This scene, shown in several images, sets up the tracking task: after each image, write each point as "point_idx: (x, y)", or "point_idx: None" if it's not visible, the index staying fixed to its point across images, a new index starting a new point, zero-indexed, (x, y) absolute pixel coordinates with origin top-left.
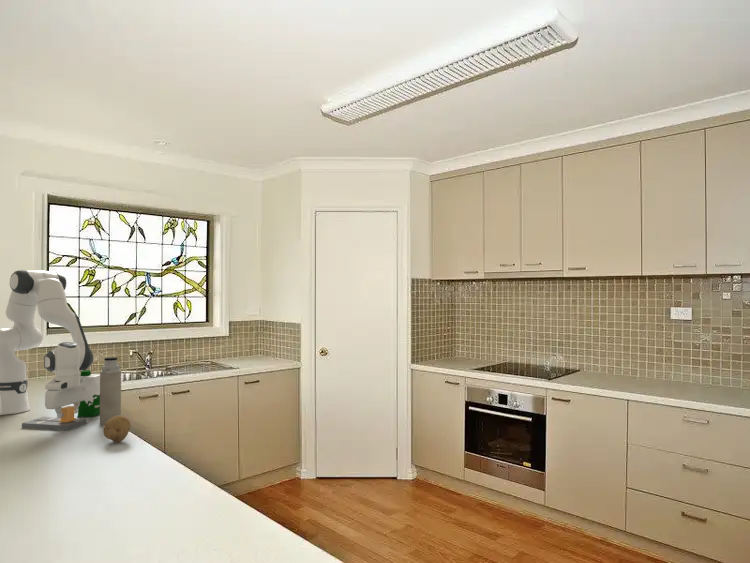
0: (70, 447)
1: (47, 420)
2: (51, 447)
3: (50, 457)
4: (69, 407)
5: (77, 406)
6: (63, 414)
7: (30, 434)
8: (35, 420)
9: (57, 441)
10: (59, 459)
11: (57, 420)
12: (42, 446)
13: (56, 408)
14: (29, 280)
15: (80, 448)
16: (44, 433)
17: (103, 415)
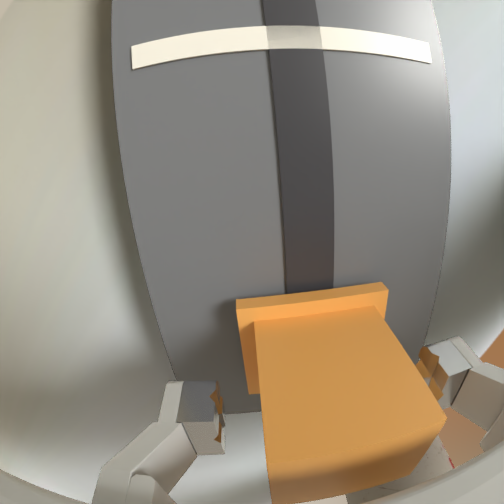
0: (67, 478)
1: (294, 55)
2: (28, 444)
3: (15, 463)
4: (333, 493)
5: (474, 420)
6: (223, 438)
7: (11, 221)
8: None
9: (58, 437)
10: (27, 476)
11: (328, 188)
12: (9, 420)
13: (111, 501)
14: None
15: (82, 492)
16: (68, 299)
17: (350, 500)
